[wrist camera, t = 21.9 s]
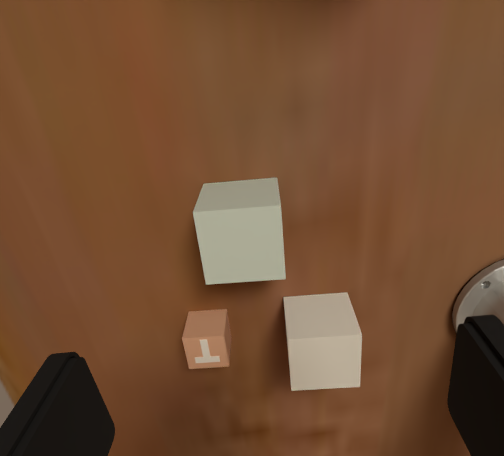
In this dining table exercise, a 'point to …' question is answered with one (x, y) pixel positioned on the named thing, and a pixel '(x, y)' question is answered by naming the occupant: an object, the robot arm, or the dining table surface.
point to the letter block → (207, 339)
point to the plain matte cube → (240, 231)
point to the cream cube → (322, 342)
